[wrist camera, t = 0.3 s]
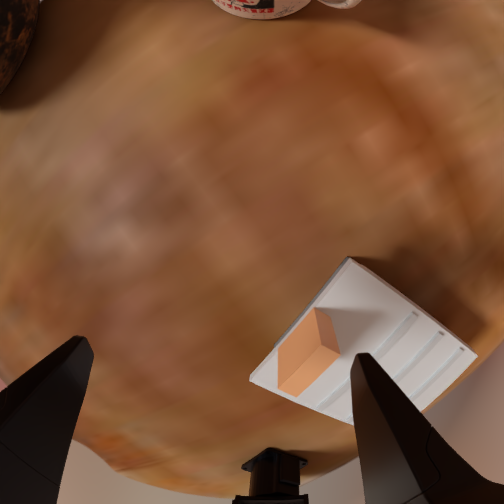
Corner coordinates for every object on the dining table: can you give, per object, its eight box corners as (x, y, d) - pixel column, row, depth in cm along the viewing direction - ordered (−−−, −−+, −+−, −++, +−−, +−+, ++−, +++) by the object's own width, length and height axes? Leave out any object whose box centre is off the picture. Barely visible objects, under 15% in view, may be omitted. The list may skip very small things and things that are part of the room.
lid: (385, 428, 25) (397, 468, 20) (249, 370, 23) (243, 420, 18) (472, 348, 21) (498, 384, 16) (346, 253, 19) (368, 290, 14)
